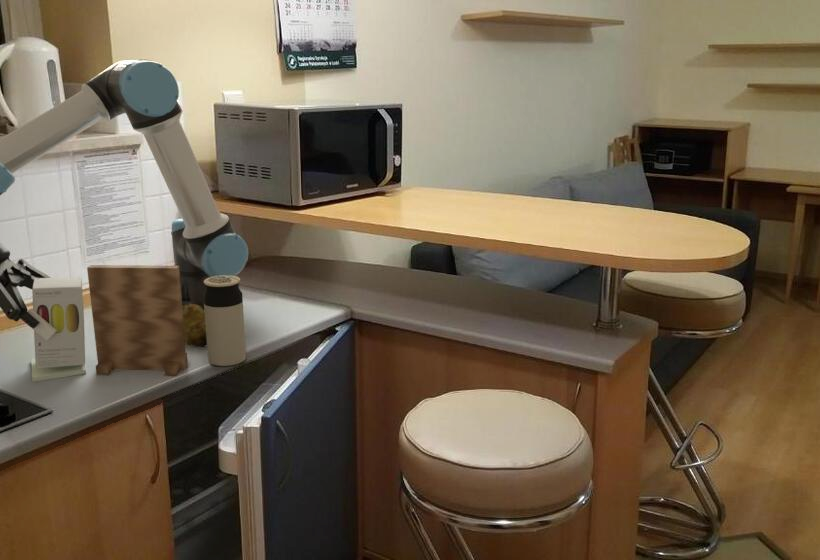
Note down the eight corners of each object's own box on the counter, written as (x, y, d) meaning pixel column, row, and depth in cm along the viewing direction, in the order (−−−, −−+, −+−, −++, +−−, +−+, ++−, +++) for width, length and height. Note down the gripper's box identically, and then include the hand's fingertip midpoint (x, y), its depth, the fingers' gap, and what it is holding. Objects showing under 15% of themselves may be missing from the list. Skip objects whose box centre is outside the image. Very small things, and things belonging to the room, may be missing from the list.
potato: (176, 352, 174) (173, 318, 172) (176, 333, 186) (173, 301, 184) (215, 349, 176) (213, 315, 174) (212, 330, 188) (210, 298, 186)
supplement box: (35, 369, 159) (29, 288, 155) (37, 354, 167) (31, 277, 163) (86, 365, 162) (82, 285, 158) (85, 350, 171) (82, 275, 167)
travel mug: (215, 369, 164) (209, 287, 160) (203, 358, 171) (197, 278, 166) (251, 362, 169) (247, 281, 164) (238, 351, 175) (233, 272, 170)
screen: (191, 361, 169) (183, 262, 163) (179, 376, 161) (171, 272, 155) (108, 360, 169) (97, 261, 163) (92, 375, 162) (80, 271, 156)
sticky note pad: (82, 354, 173) (81, 350, 173) (86, 373, 162) (85, 369, 162) (31, 361, 169) (31, 358, 168) (32, 381, 158) (32, 377, 158)
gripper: (1, 251, 171) (79, 319, 175) (-66, 281, 148) (26, 358, 152) (22, 227, 170) (100, 296, 174) (-42, 254, 147) (49, 333, 151)
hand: (65, 325), depth 163 cm, fingers closed on supplement box, 12 cm apart
